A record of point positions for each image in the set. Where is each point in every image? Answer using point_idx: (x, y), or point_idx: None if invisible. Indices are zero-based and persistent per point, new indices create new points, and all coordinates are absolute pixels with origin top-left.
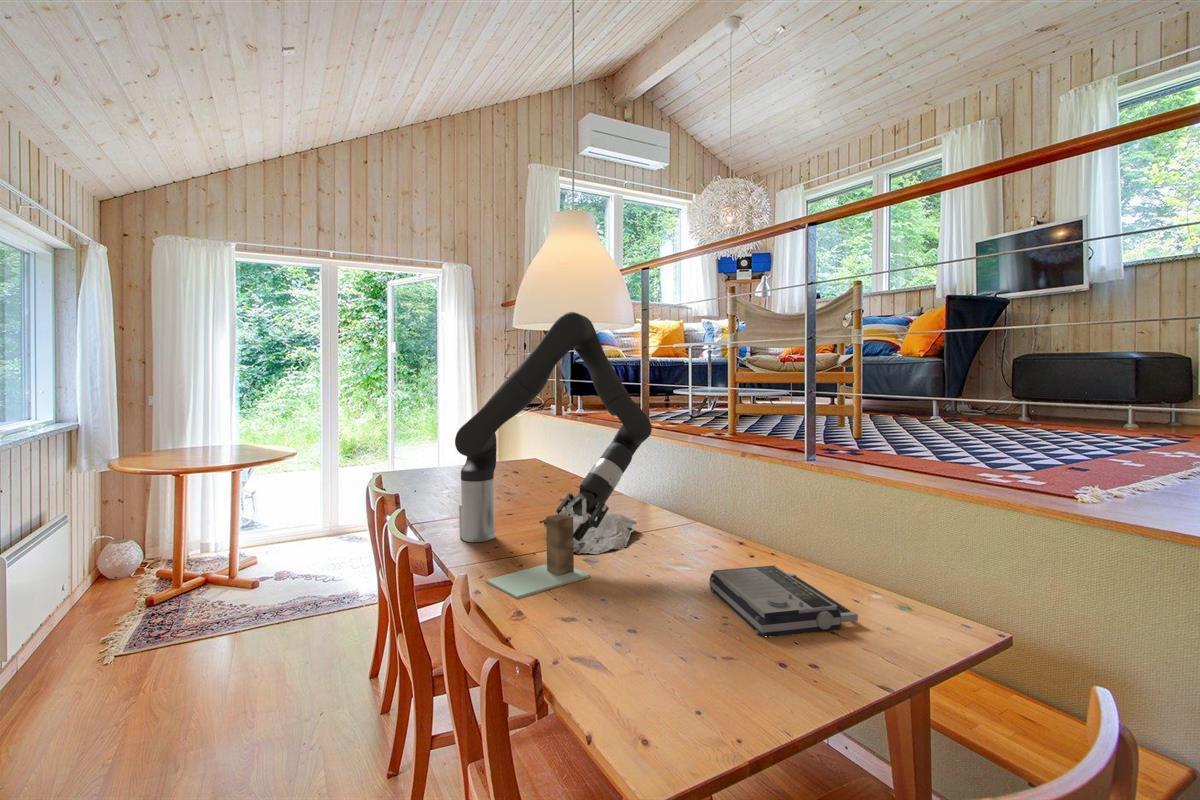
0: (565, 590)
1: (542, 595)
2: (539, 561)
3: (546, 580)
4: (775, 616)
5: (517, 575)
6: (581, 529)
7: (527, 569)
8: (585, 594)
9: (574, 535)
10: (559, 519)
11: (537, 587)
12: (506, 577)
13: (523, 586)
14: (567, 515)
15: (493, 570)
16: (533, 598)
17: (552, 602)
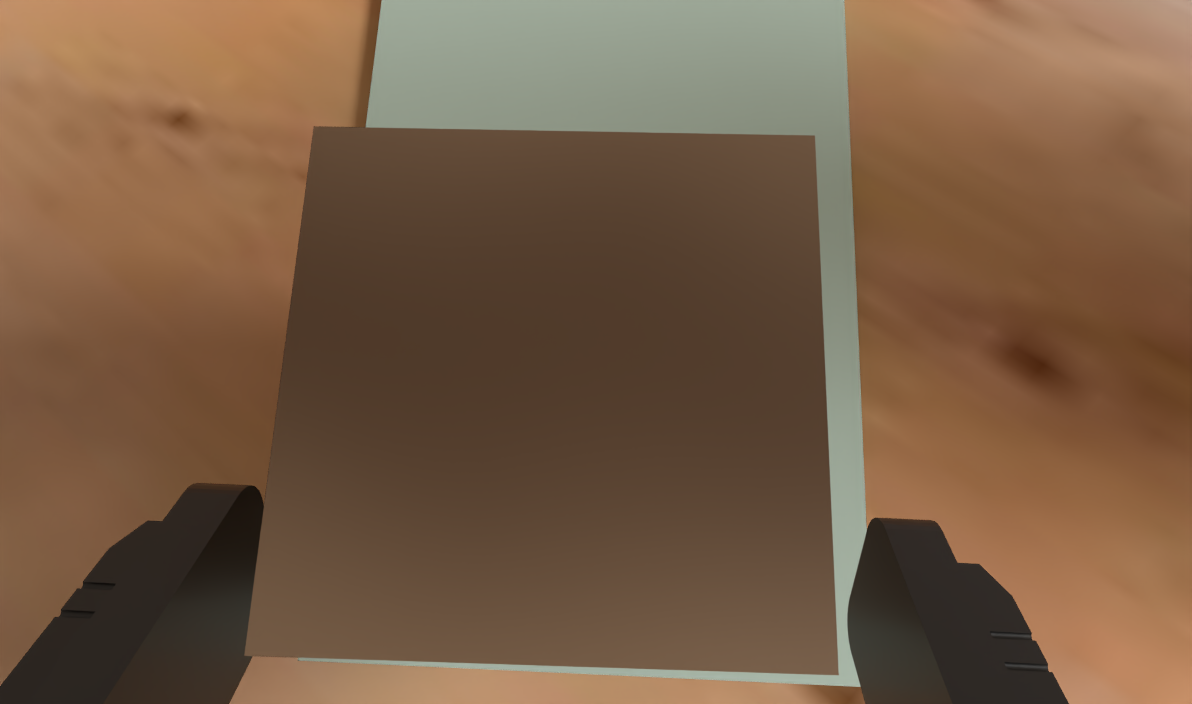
0: (244, 274)
1: (307, 95)
2: (1034, 574)
3: None
4: None
5: None
6: (74, 637)
7: (843, 301)
8: (56, 335)
9: (198, 485)
10: (338, 199)
11: (416, 119)
12: (784, 69)
13: (516, 58)
14: (511, 647)
15: (1058, 120)
16: (314, 22)
17: (153, 71)
